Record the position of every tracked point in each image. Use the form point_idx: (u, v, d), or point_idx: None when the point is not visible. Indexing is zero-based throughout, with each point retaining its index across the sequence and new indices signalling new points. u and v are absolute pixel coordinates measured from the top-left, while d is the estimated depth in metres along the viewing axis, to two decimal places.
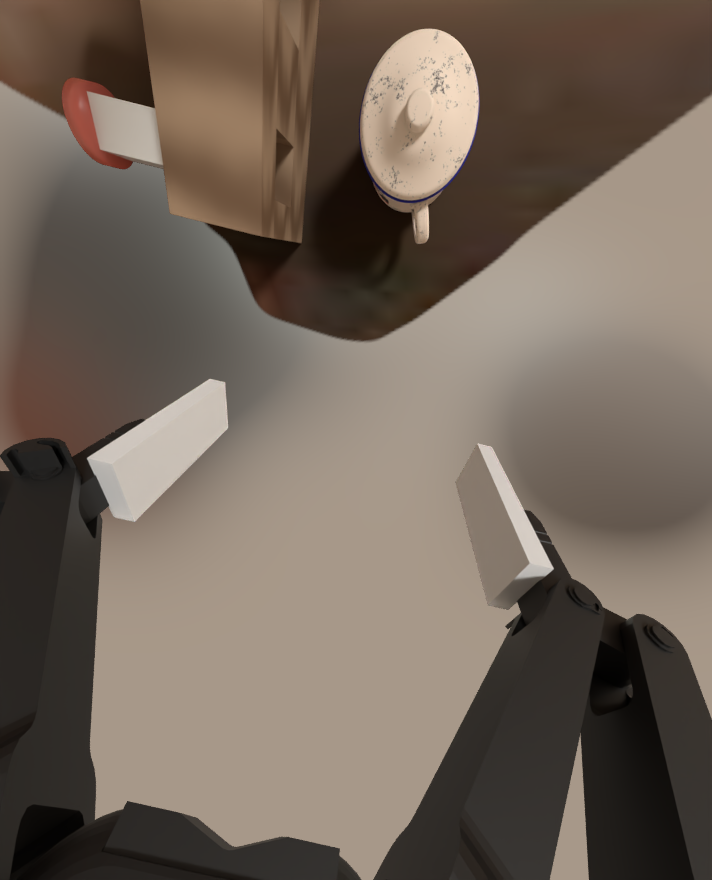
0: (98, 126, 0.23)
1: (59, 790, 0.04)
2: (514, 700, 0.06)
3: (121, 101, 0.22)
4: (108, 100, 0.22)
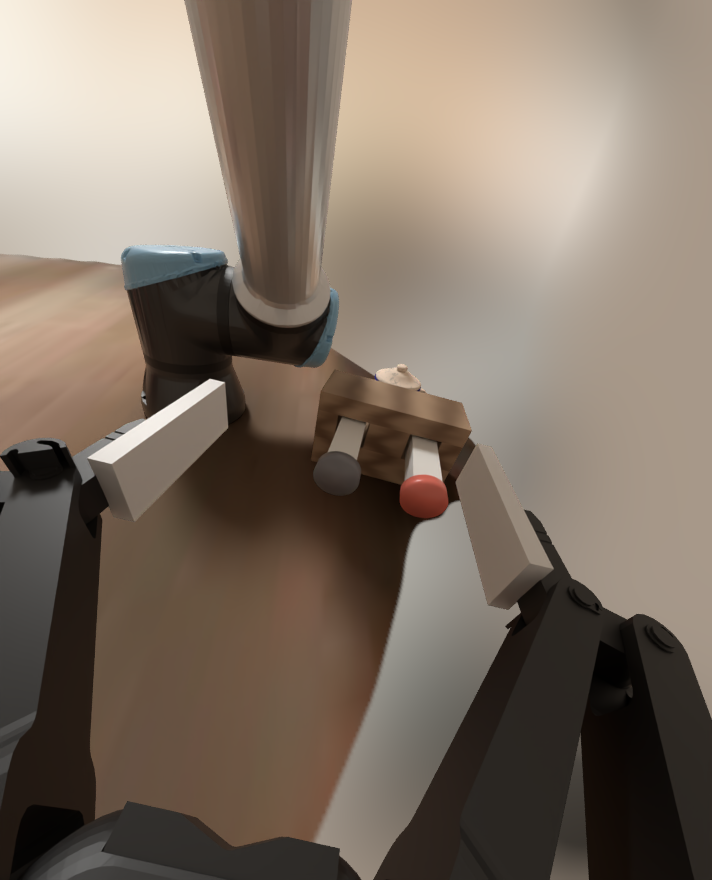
0: None
1: (59, 790, 0.04)
2: (514, 700, 0.06)
3: (413, 461, 0.33)
4: (415, 467, 0.32)
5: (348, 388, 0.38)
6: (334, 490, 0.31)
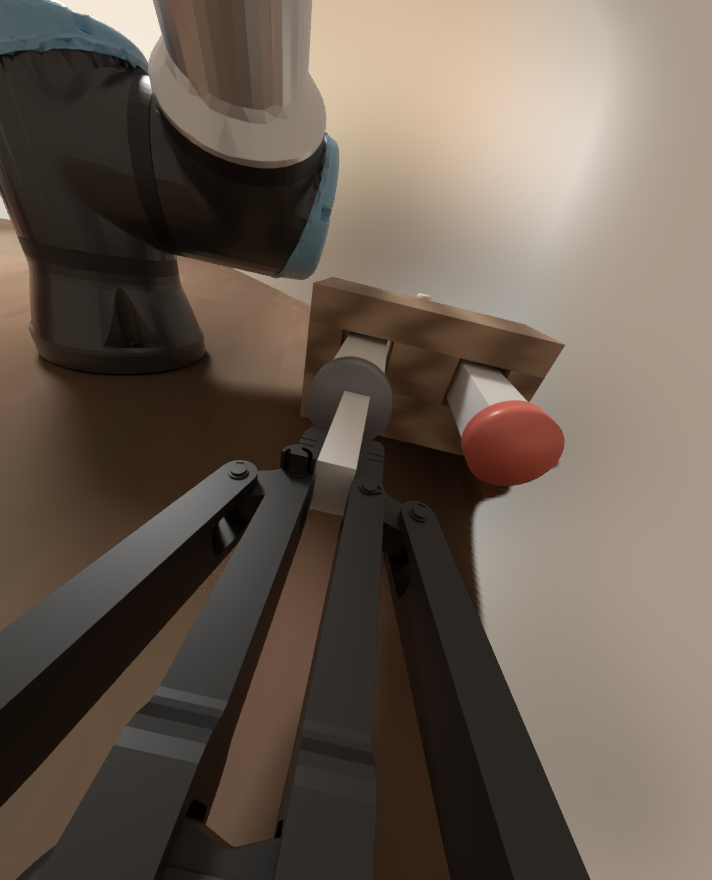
0: None
1: (207, 783, 0.05)
2: (332, 599, 0.06)
3: (480, 389, 0.19)
4: (486, 396, 0.18)
5: (357, 289, 0.23)
6: None
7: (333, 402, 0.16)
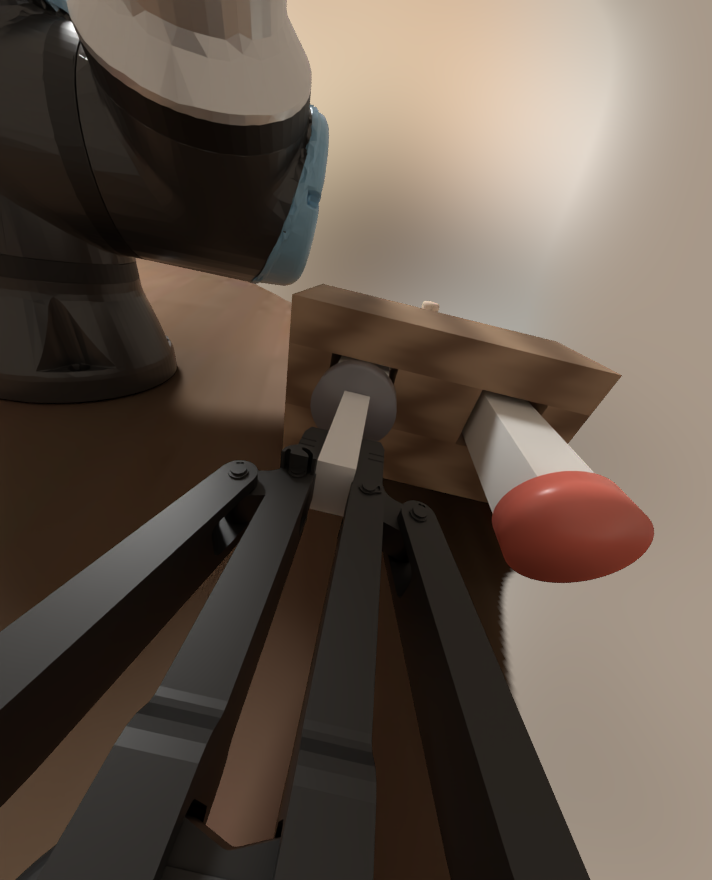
0: None
1: (207, 784, 0.05)
2: (332, 599, 0.06)
3: (516, 441, 0.14)
4: (527, 455, 0.13)
5: (351, 300, 0.18)
6: None
7: (338, 405, 0.16)
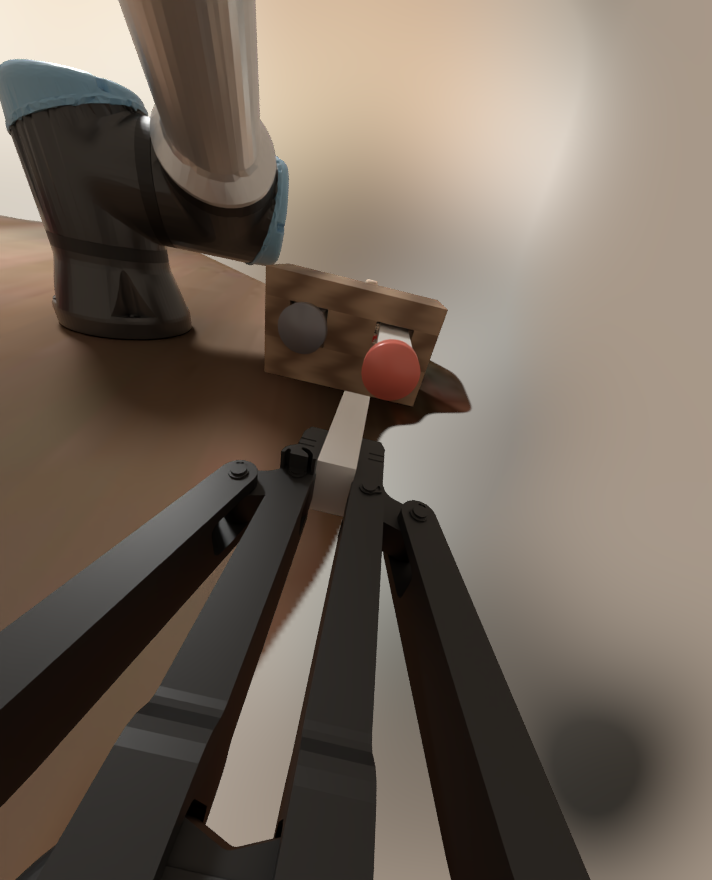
0: None
1: (207, 783, 0.05)
2: (332, 599, 0.06)
3: (379, 337, 0.27)
4: (380, 341, 0.26)
5: (301, 271, 0.32)
6: (301, 347, 0.31)
7: (293, 327, 0.30)
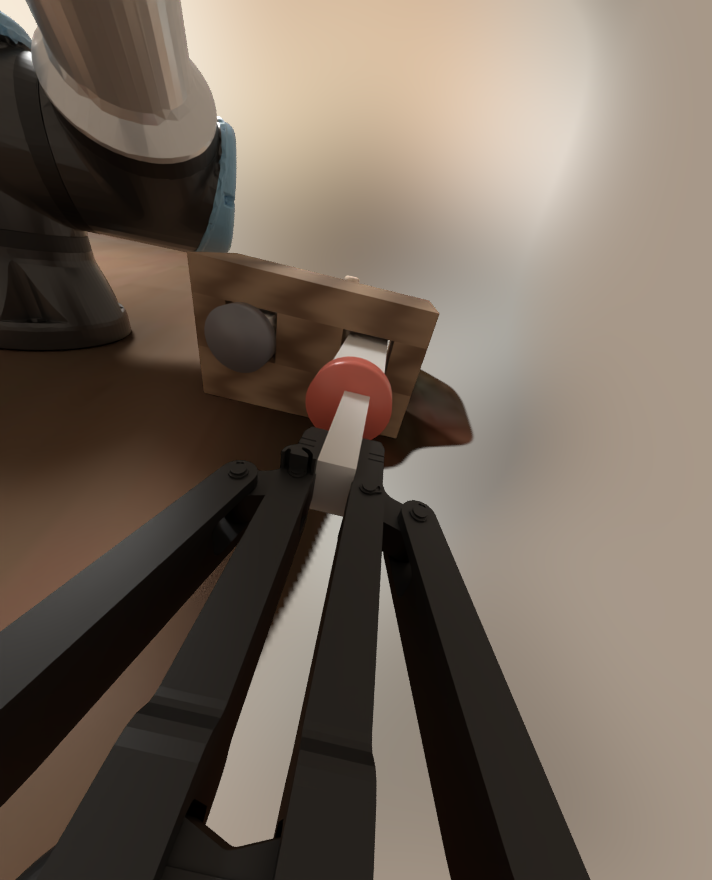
0: None
1: (207, 784, 0.05)
2: (332, 599, 0.06)
3: (339, 352, 0.19)
4: (338, 357, 0.18)
5: (243, 261, 0.23)
6: (239, 364, 0.23)
7: (225, 336, 0.22)
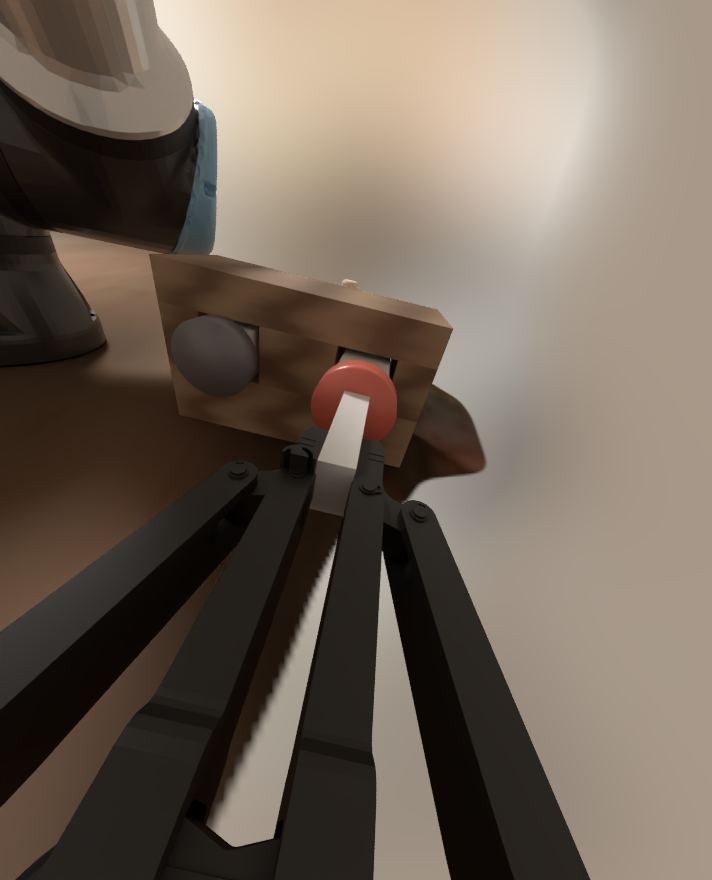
0: None
1: (207, 784, 0.05)
2: (332, 599, 0.06)
3: (343, 355, 0.19)
4: (343, 361, 0.18)
5: (220, 264, 0.20)
6: (215, 387, 0.19)
7: (196, 356, 0.18)
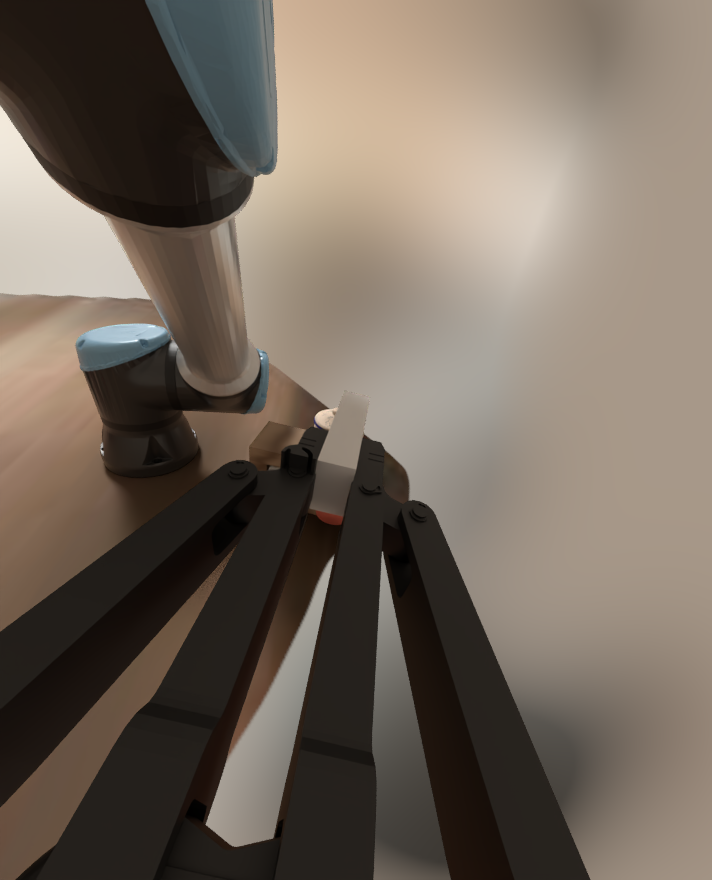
0: None
1: (207, 783, 0.05)
2: (332, 599, 0.06)
3: None
4: None
5: (275, 441, 0.45)
6: None
7: None
